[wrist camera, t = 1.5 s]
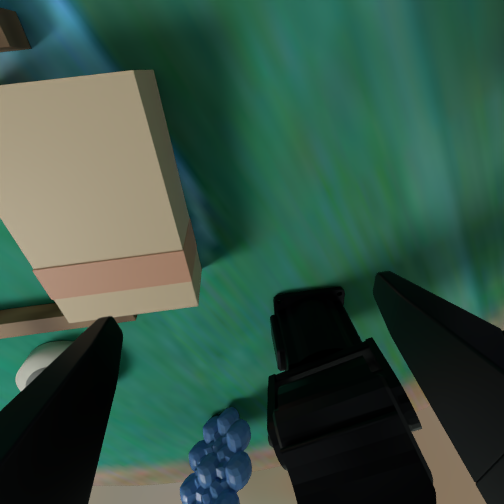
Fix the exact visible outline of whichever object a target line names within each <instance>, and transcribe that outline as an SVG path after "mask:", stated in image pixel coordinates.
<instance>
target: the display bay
mask: <svg viewBox="0 0 504 504" xmlns="http://www.w3.org/2000/svg"><path fill="white" fill-rule="evenodd" d="M25 49H31V47H30V44H29V42H28V40H27V37H26V35H25V33H24V30H23V28H22V26H21V23H20V21H19V19H18V16H17V14H16V12H15V11H11V10H8V9H4V8H0V52H7V51H16V50H25ZM137 315H138V314H135V315H127V316H120V317H114V319H115V320H116V322H117V323H120V322H127V321H135V320H136V318H137ZM95 321H96V320H90V321H83V322H75V323H69V322H68V321H67V319H66V318H65V316H64V314H63V313H62V311H61V310H60V308H59V307H58V305H57V304H56V303H52V304H44V305H36V306H29V307H21V308H14V309H6V310H0V339H1V338H8V337H16V336H23V335H31V334H38V333H45V332H53V331H60V330H68V329H75V328H83V327H90V326H91V325H92V324H93V323H94V322H95Z"/></svg>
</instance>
